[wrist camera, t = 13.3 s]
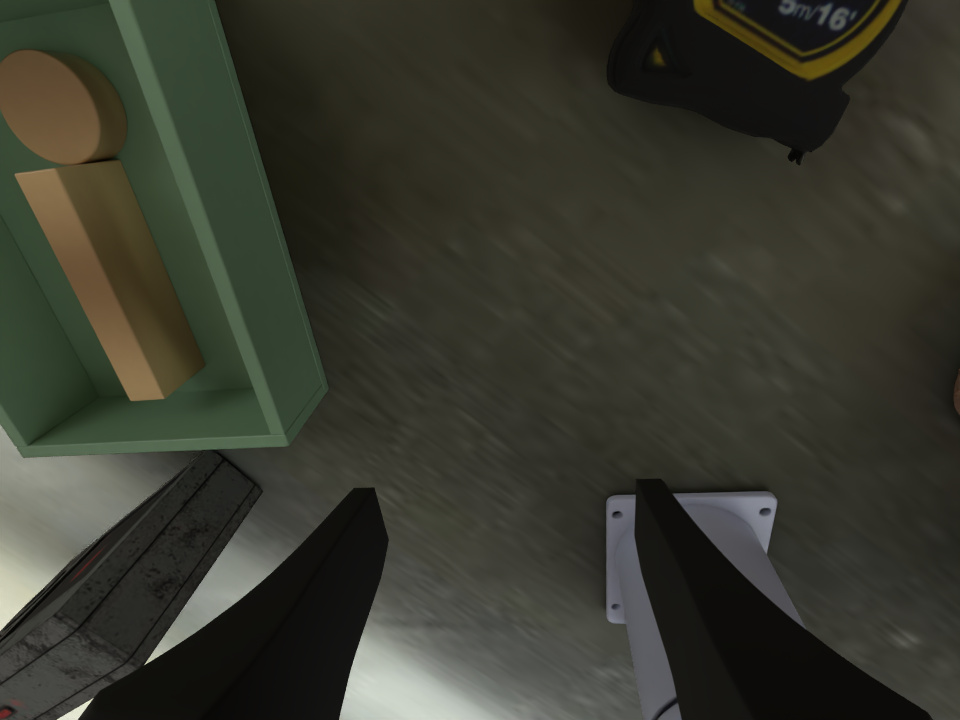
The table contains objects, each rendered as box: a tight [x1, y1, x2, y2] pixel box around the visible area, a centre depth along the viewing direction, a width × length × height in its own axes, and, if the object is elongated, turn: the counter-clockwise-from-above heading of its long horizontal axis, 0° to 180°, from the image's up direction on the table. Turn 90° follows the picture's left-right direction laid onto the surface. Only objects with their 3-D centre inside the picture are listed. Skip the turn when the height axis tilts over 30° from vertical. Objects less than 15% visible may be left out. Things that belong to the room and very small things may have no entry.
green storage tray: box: [0, 0, 329, 458], centre depth 19 cm, size 16×12×4 cm
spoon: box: [0, 49, 206, 401], centre depth 19 cm, size 13×4×3 cm, turn 7°
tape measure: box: [607, 0, 908, 165], centre depth 14 cm, size 7×7×4 cm
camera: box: [0, 450, 263, 720], centre depth 25 cm, size 16×4×10 cm, turn 129°
